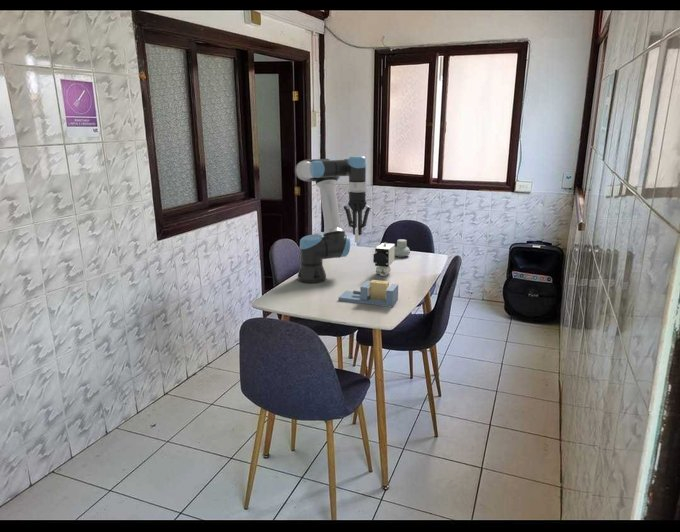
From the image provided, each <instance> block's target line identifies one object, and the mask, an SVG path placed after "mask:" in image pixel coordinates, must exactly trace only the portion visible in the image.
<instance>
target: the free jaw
mask: <svg viewBox="0 0 680 532" xmlns="http://www.w3.org/2000/svg"><path fill="white" fill-rule="evenodd" d="M371 281H372V280H366V281H364V283H363V284H362V285H360V288H359V289H360V290H359V291H358V290H353V294H358V295H360V299H362V300H367V299H368V298H369V297H370V282H371Z"/></svg>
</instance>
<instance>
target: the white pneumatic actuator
mask: <svg viewBox="0 0 680 532" xmlns="http://www.w3.org/2000/svg"><path fill="white" fill-rule="evenodd" d="M395 247H396V243H390V242H382V243H381V244H379V245H378V244H377V245H376V246H375V248H374V250H375V251H374V253H373V263H374V266H375V267H376V268H375V273H376V274H378V275H380V277H386V276H388V274H390V272H391V265H392V264H393V263H394V262H395V261H396V259H395V258H396V255H395Z"/></svg>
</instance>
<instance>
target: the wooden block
mask: <svg viewBox="0 0 680 532" xmlns="http://www.w3.org/2000/svg"><path fill="white" fill-rule="evenodd" d="M370 281H371V282H370V299H377V300H385V301H386V290H387V288H388V287H389V286H390V281H389V280H380V279H379V280H378V279H371V280H370Z"/></svg>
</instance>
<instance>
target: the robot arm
mask: <svg viewBox="0 0 680 532" xmlns="http://www.w3.org/2000/svg"><path fill="white" fill-rule="evenodd" d="M366 162H367V161H366V157H365V156H362V155H355V156H354V155H353V156H349V158H344V159H333V158H317V159H303V160H301V161H299V162H298V163H297V164H296V165H295V167H294V174H295V176H296V177H297V178H298V180H301V181H303V182H315V186H316V187H318V189H319V196H320V202H321V208H322V215H323V223H324V228H325V229H324V230H325V231H324V233H323V234H322V235H323V236H322V235H321V234H315V233H313V234H308V235H305V236H303V237H301V239H299V254H300V256H299V259H300V266H299V269H298V273H297V281H298V282H300V283H304V284H317V283H323V282H324V281H326V280H327V273H326V270H325V269H324V268H325V267H324V265H323V260H328V259H329V260H330V259H340V258H344V257H347V256H348V255H349V253H350V250H351V249H350V248H351V238H350V236H349V235H348V234H346V232H345V230H344V229H343V228H342V223H341V217H340V210H339V204H338V203H339V202H338V196H337V190H336V185H337V183H338V181H339V179H340V177H348V191H349V193H348V203H347V204H346V205H344V206H343V209H344V211H345V214H346V218H347V223H348V226H349V227H351V228H352V234H353V236H354V242H355V243H360V242H361V236H362V234H363V231H362V230H363V228H365V227H366V226H367V222H368V219H369V214H370V211H371V209H372V206H369V205H368V204H367V201H366V199H367V198H366V193H367V192H366V187H367V186H366V180H367V179H366V178H367V177H366V176H367V175H366V173H367V172H366V170H367V163H366ZM350 209H351V210H350ZM364 210H365V211H364ZM363 211H364V215H363ZM351 213H352V214H351Z"/></svg>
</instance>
